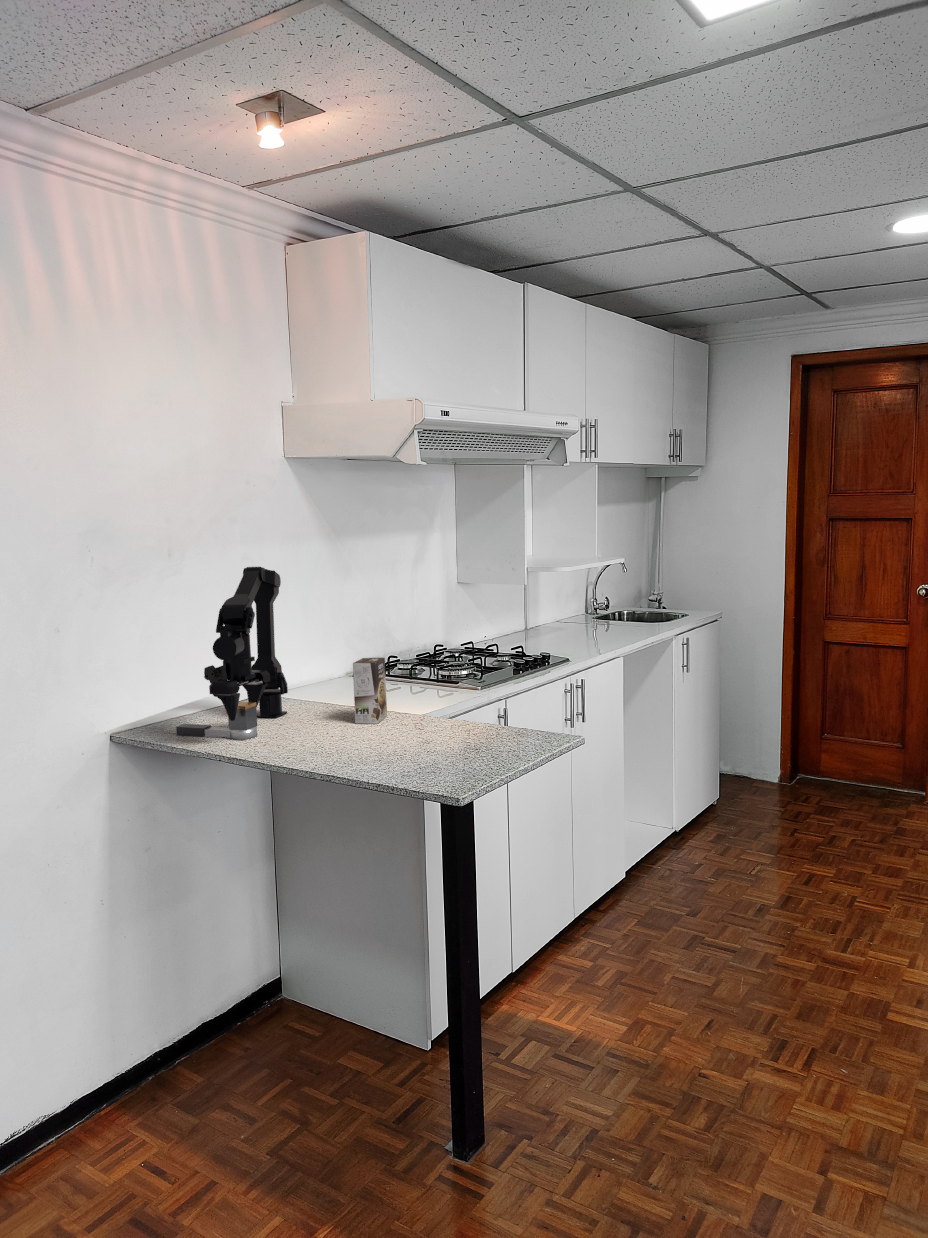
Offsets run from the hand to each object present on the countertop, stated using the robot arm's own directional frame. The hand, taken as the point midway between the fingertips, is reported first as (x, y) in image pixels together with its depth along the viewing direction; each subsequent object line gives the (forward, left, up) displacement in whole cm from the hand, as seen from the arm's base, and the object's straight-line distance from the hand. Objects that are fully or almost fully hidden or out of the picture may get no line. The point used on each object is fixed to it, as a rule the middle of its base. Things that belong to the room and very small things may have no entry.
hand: (242, 716), depth 229 cm
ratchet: (0, -8, -5) cm, 10 cm away
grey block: (0, 0, -3) cm, 3 cm away
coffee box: (-24, +24, -6) cm, 34 cm away
